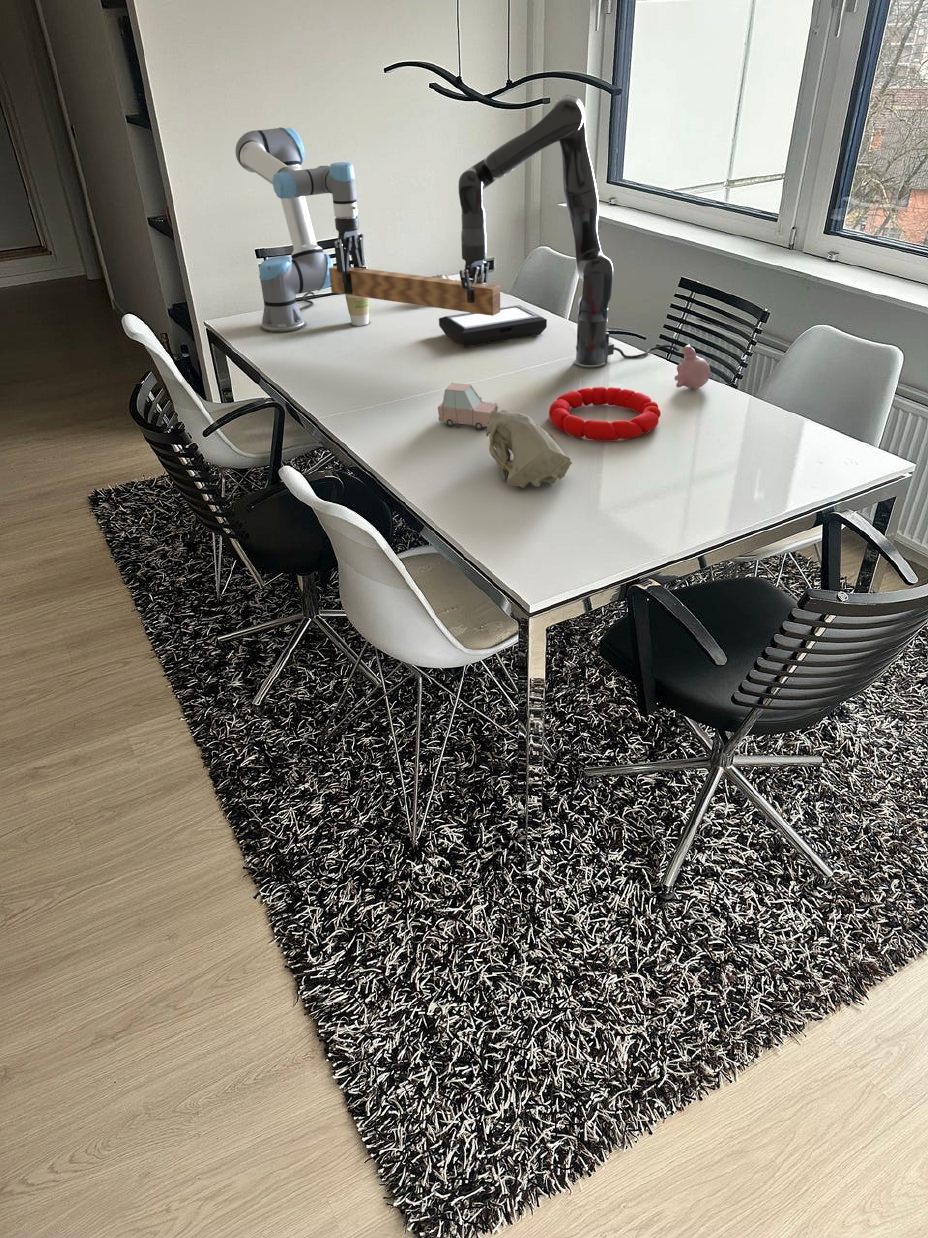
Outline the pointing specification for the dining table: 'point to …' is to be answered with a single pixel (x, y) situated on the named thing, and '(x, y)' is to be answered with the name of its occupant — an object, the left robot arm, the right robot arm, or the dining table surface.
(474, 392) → the toy car
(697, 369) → the figurine
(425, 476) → the dining table surface
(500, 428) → the animal skull
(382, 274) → the bar
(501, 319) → the electronic device
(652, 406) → the decorative ring
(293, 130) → the left robot arm
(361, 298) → the coffee cup
